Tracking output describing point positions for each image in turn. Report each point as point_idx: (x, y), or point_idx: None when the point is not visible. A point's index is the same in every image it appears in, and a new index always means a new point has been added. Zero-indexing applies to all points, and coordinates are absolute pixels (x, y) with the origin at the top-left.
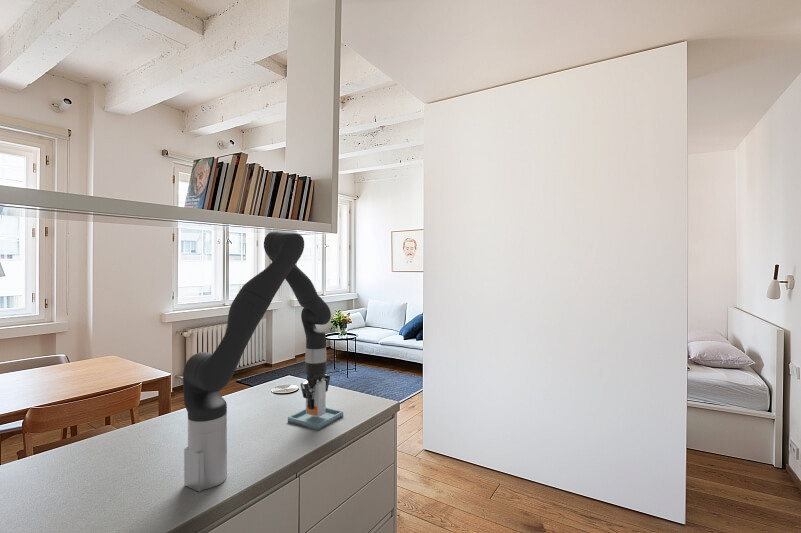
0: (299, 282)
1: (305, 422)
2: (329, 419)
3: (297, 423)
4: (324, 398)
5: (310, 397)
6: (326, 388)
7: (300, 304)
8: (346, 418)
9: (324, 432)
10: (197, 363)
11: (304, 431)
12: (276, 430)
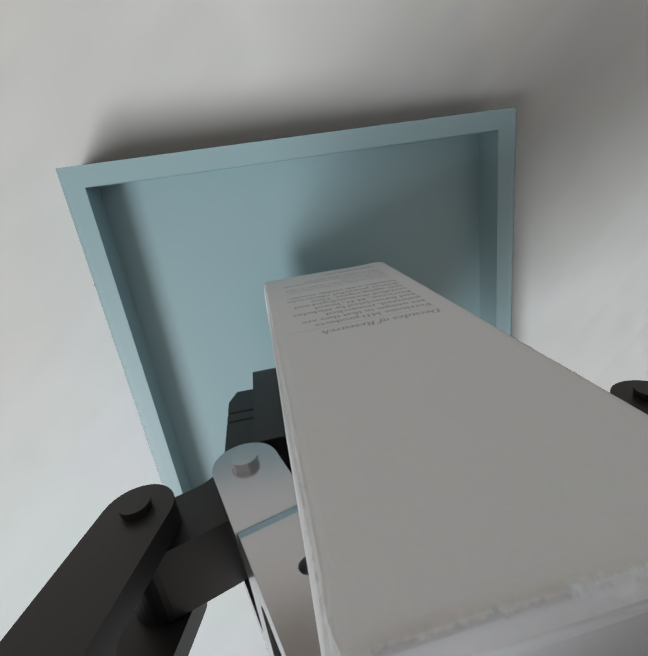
0: None
1: (507, 278)
2: (332, 131)
3: None
4: (308, 335)
5: (620, 394)
6: (139, 535)
7: None
8: (89, 87)
9: (492, 19)
10: None
11: (553, 203)
12: (618, 380)
